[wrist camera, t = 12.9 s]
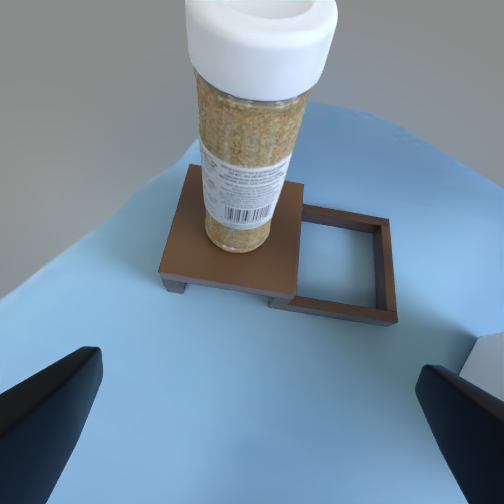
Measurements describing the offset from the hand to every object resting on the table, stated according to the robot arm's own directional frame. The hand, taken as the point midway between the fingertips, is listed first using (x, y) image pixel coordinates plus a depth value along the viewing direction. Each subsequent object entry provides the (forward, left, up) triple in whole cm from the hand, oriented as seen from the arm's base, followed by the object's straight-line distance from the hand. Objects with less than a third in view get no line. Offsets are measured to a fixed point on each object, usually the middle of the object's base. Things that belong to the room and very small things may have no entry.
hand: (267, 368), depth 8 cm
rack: (+10, -2, -13) cm, 17 cm away
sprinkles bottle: (+10, +2, -9) cm, 14 cm away
